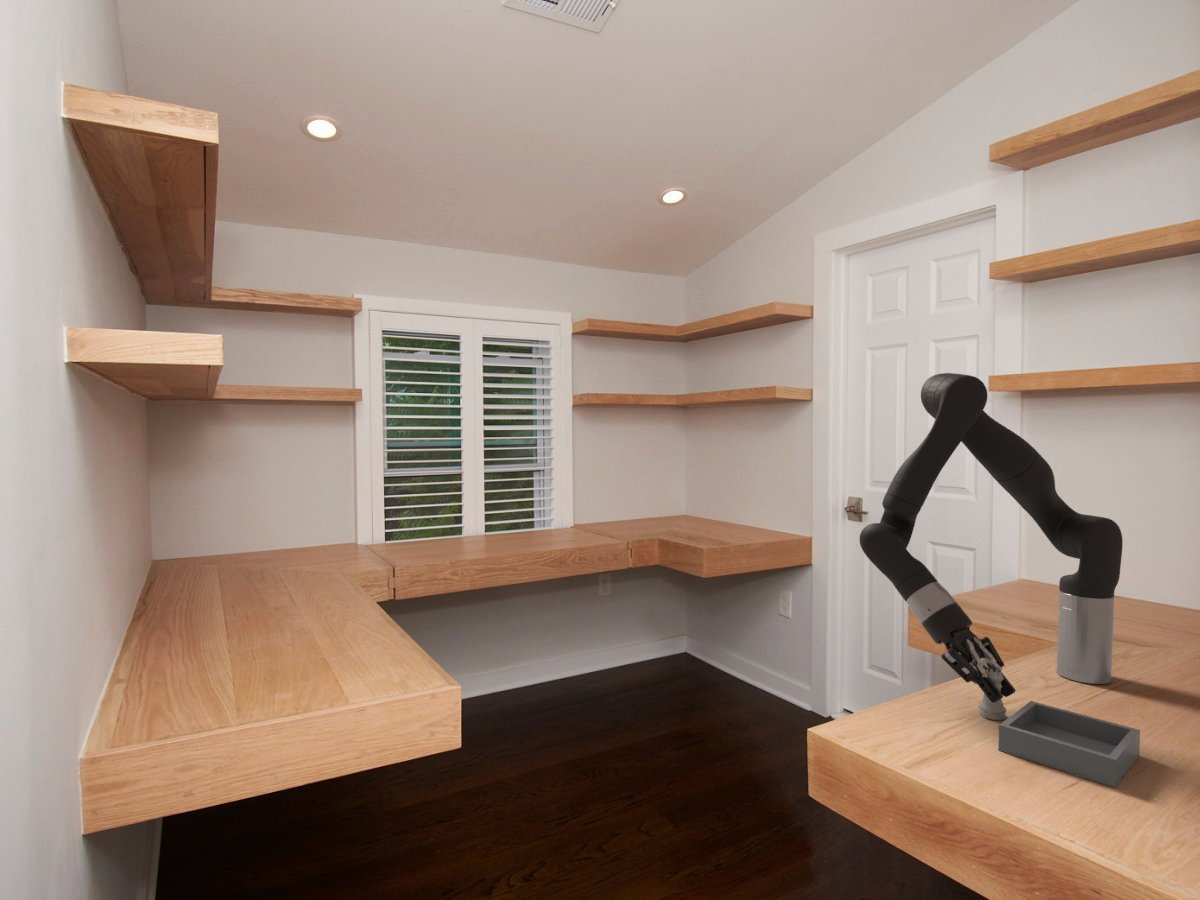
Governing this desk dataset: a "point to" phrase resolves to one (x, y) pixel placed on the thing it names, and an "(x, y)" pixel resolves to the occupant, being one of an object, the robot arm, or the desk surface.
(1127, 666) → the desk surface
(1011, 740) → the tray
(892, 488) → the robot arm
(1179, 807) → the desk surface
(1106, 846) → the desk surface
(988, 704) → the rook chess piece
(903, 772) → the desk surface
